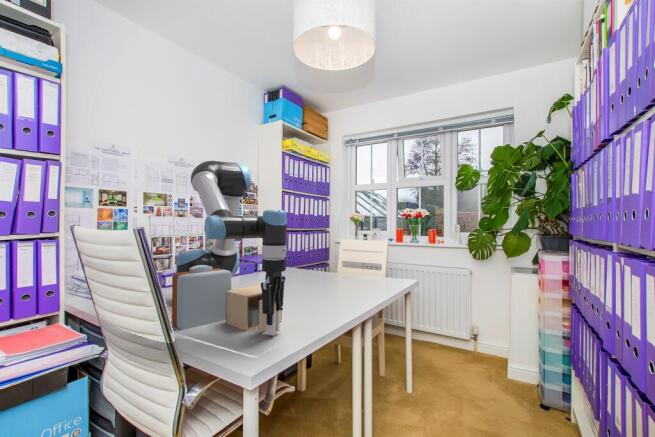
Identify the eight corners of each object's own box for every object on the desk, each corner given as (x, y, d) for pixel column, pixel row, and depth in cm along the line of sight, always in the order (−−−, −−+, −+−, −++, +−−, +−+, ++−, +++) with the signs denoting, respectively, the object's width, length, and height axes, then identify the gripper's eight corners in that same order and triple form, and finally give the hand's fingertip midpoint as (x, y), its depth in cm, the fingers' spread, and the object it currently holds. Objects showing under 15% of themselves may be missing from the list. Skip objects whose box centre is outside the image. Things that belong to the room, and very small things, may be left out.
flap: (256, 333, 99) (257, 302, 100) (280, 319, 114) (280, 291, 114) (273, 335, 97) (273, 303, 97) (294, 321, 112) (294, 293, 112)
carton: (226, 324, 111) (226, 290, 111) (258, 315, 121) (258, 284, 121) (246, 332, 103) (246, 296, 103) (278, 322, 114) (278, 289, 114)
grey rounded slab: (221, 314, 123) (221, 262, 123) (232, 319, 116) (232, 264, 116) (171, 325, 110) (171, 267, 110) (180, 332, 103) (180, 270, 103)
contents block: (242, 323, 110) (242, 309, 110) (252, 319, 115) (252, 305, 115) (252, 325, 108) (252, 311, 108) (262, 321, 112) (262, 307, 112)
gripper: (274, 262, 91) (272, 343, 90) (294, 256, 106) (293, 326, 106) (251, 260, 93) (249, 340, 92) (273, 255, 108) (272, 323, 108)
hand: (272, 332), depth 99 cm, fingers closed on flap, 3 cm apart
